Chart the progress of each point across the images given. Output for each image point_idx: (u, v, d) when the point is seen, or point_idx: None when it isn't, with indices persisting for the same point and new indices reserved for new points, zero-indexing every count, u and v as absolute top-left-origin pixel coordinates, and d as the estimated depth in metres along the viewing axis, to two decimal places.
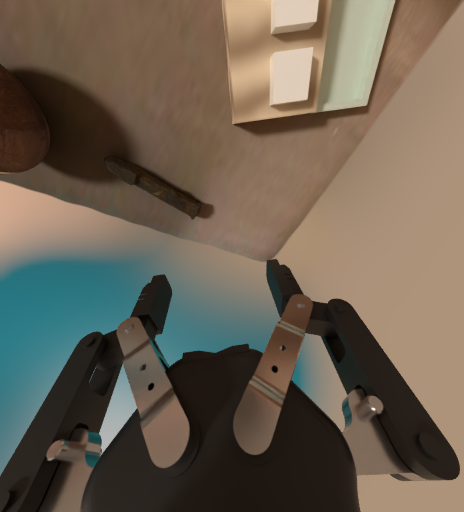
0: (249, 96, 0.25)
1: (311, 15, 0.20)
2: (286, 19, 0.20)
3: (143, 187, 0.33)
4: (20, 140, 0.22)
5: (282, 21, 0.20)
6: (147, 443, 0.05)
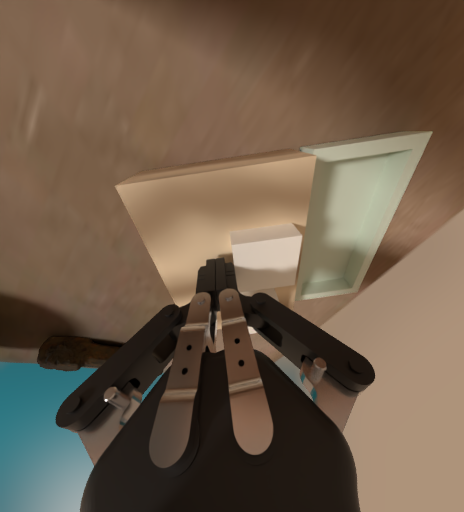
0: None
1: (288, 282, 0.15)
2: (252, 287, 0.15)
3: (91, 366, 0.28)
4: None
5: (247, 288, 0.15)
6: (155, 421, 0.05)
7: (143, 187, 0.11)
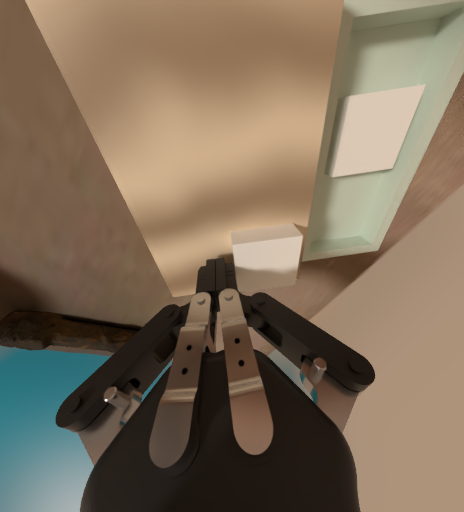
0: (190, 272, 0.16)
1: None
2: None
3: (61, 345, 0.24)
4: None
5: None
6: (155, 421, 0.05)
7: (73, 7, 0.07)
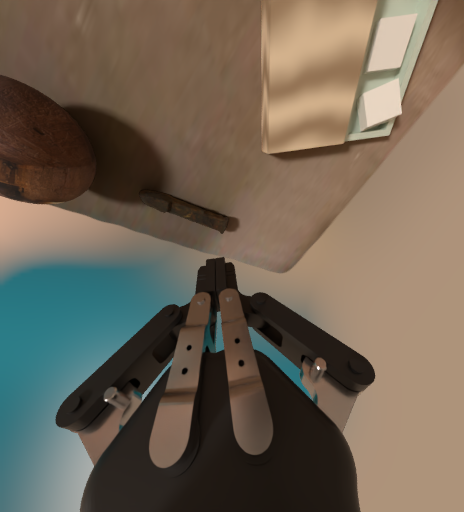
0: (284, 131, 0.27)
1: None
2: None
3: (175, 212, 0.36)
4: (77, 175, 0.25)
5: None
6: (155, 421, 0.05)
7: None
